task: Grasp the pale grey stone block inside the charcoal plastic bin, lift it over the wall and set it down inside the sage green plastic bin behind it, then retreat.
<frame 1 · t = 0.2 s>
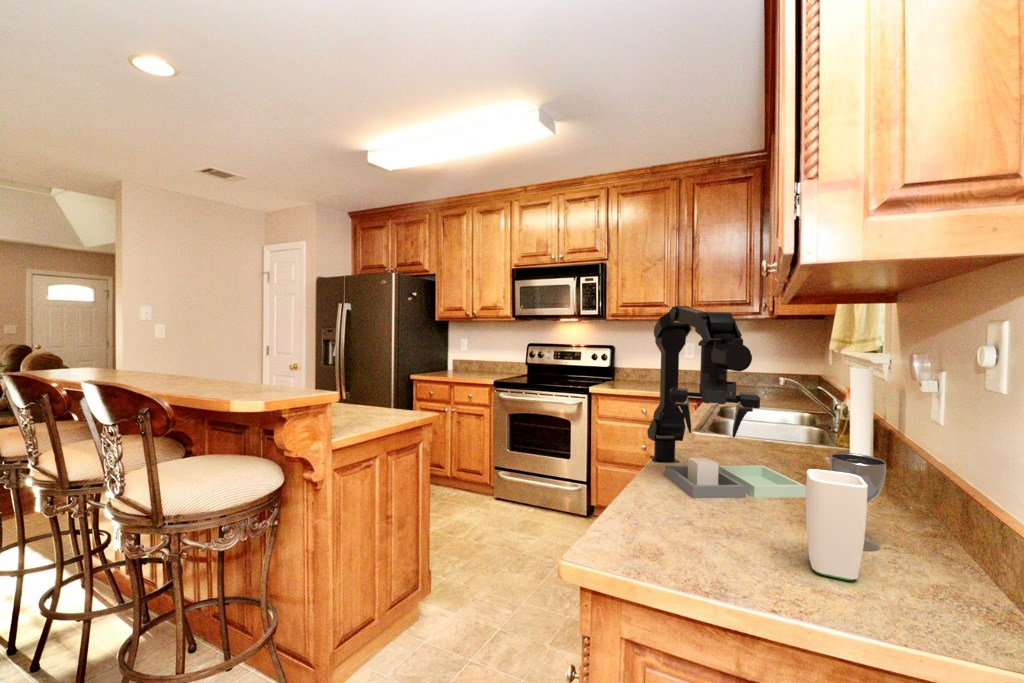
hand: (711, 434, 109), 13 cm above the counter, fingers open, 9 cm apart
cup: (832, 573, 74), on the counter
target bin: (758, 487, 114), on the counter
stone block: (702, 485, 113), resting on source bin
wine glass: (854, 542, 85), on the counter
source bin: (702, 487, 113), on the counter
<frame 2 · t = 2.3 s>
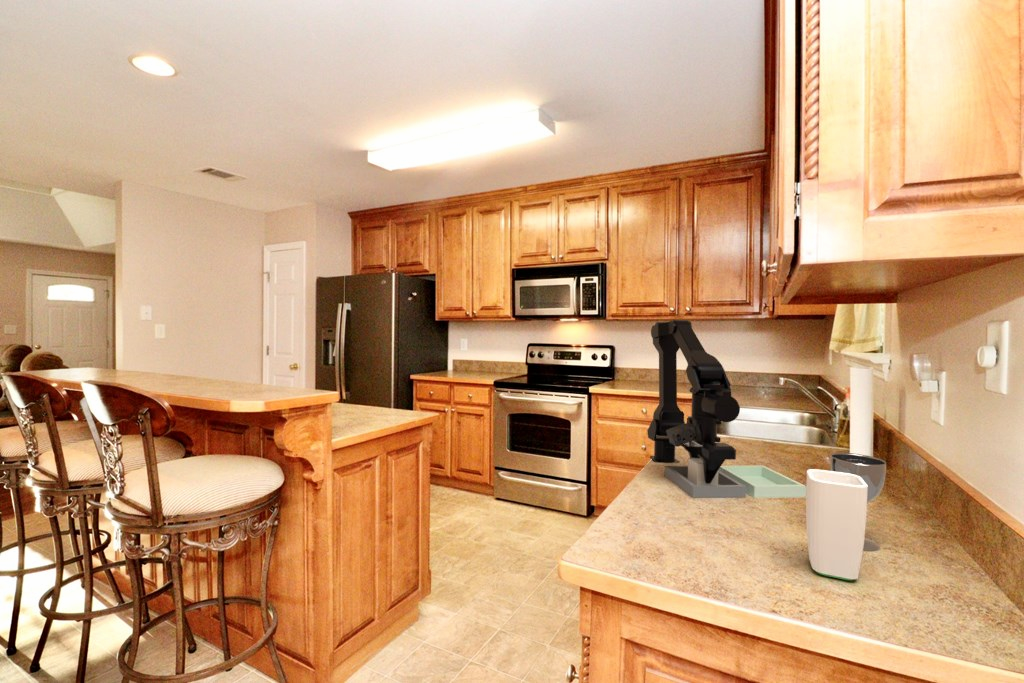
hand: (702, 479, 113), 2 cm above the counter, fingers closed on stone block, 5 cm apart
stone block: (702, 485, 113), resting on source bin, touching gripper
everything else where it was.
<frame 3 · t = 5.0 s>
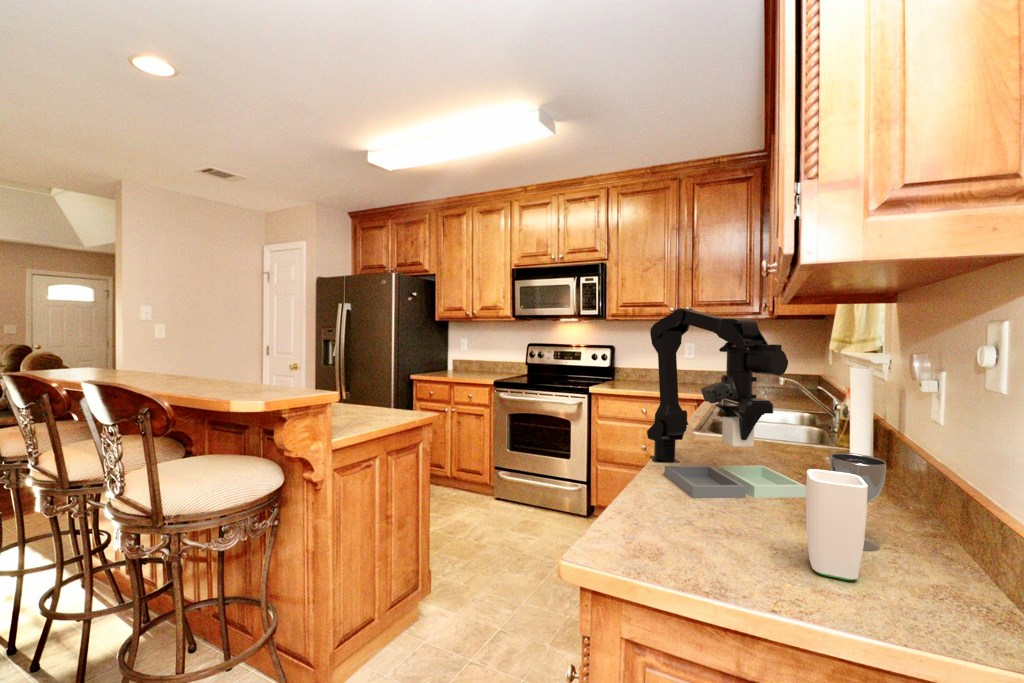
hand: (737, 437, 113), 12 cm above the counter, fingers closed on stone block, 5 cm apart
stone block: (737, 443, 113), point 11 cm above the counter, touching gripper
everything else where it was.
when the fingers open (3 cm above the counter, at t = 7.9 s): stone block drops 1 cm, resting on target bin.
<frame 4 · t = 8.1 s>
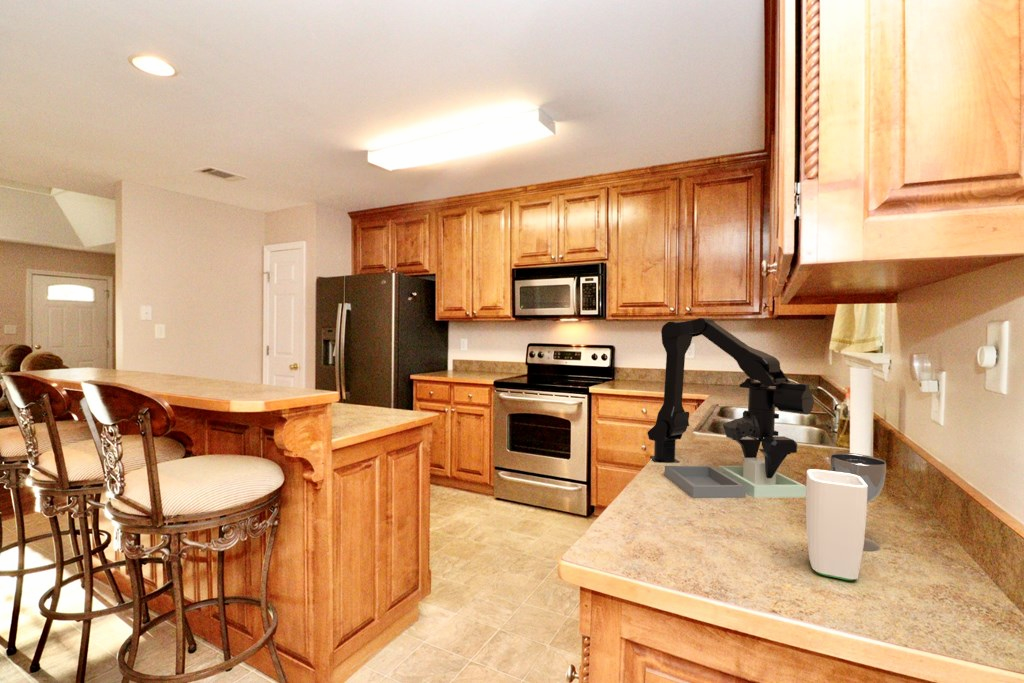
hand: (759, 473, 114), 3 cm above the counter, fingers open, 7 cm apart
stone block: (758, 485, 114), resting on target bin
everything else where it was.
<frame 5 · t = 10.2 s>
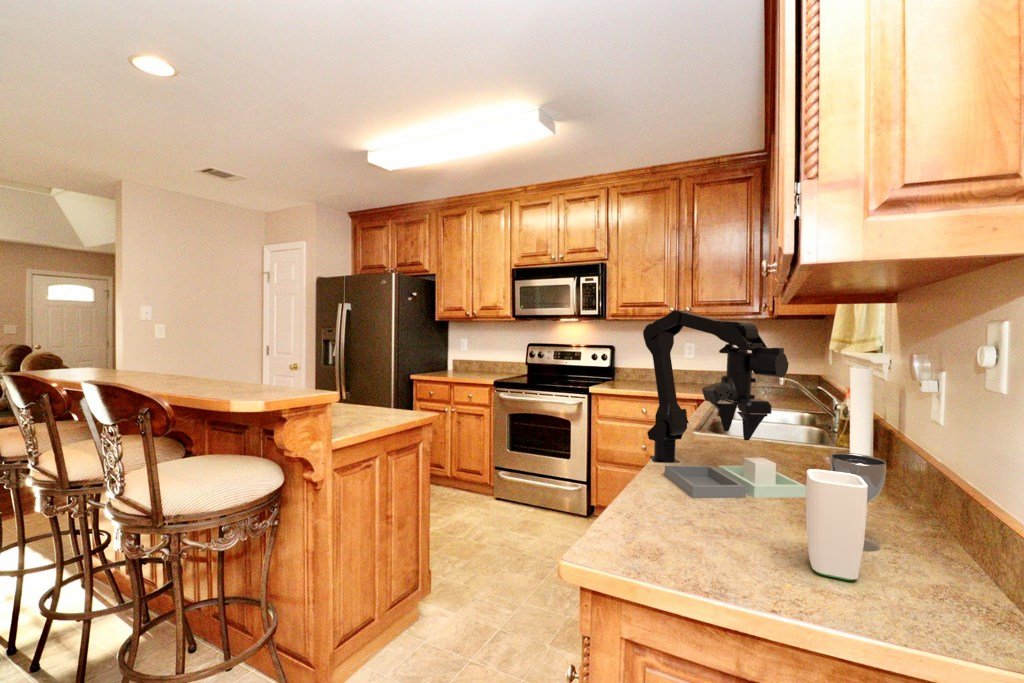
hand: (735, 435, 117), 12 cm above the counter, fingers open, 9 cm apart
nothing on the counter moved.
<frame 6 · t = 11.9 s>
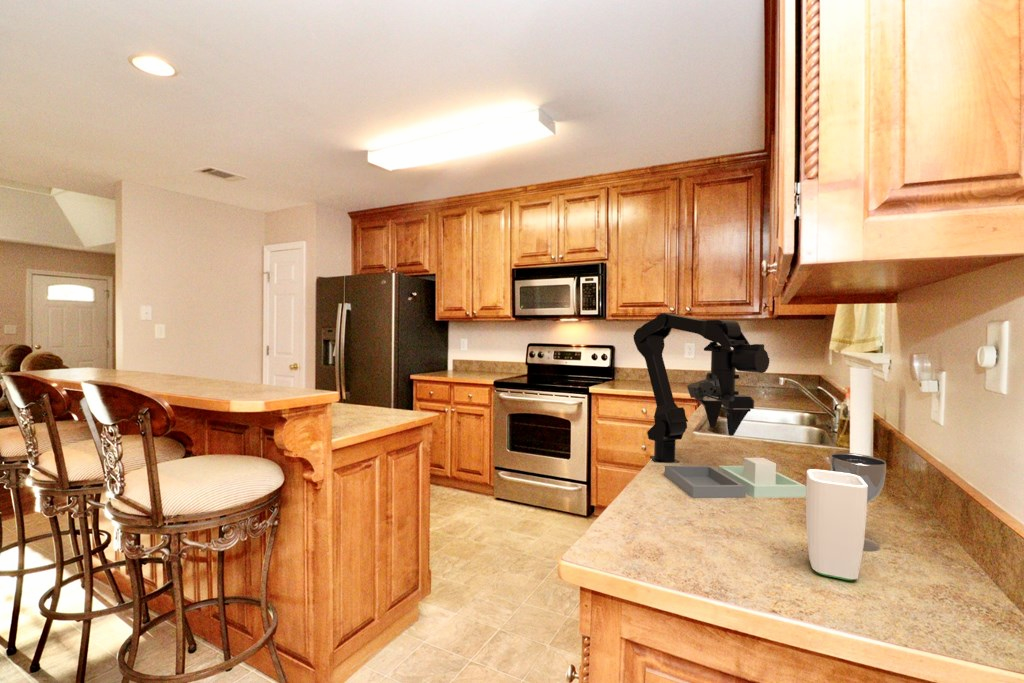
hand: (721, 431, 120), 12 cm above the counter, fingers open, 9 cm apart
nothing on the counter moved.
at the end: stone block inside the target area on the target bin (0.1 cm from its centre), point 0.5 cm above the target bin's base; the gripper is holding nothing; stone block tilted 0° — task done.
